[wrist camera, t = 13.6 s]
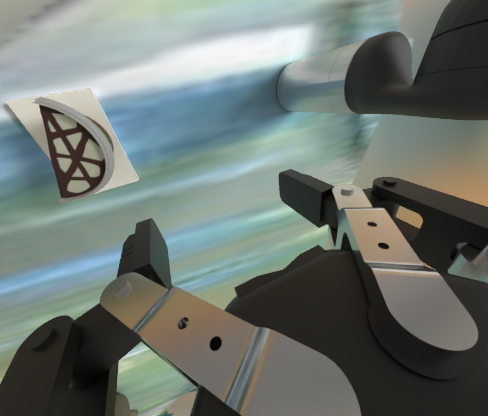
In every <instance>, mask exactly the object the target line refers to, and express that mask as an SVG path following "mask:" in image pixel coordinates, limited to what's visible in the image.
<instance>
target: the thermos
mask: <svg viewBox="0 0 488 416" xmlns="http://www.w3.org/2000/svg"><path fill="white" fill-rule="evenodd" d="M137 415H138V411H137V410H130V416H137Z"/></svg>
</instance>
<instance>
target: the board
mask: <svg viewBox="0 0 488 416" xmlns="http://www.w3.org/2000/svg"><path fill="white" fill-rule="evenodd" d="M39 97H43V98H47V99H51V100H54V101H57V102H60V103H62V104H65V105H67V106H69V107H71V108H73V109H75V110H76V111H78V112H80V113H81V114H83V115H85V116H87V117H89V118H91V119H93V120H94V121H96V122H97V123H98V124H100V125H101V126H102V127H103V128H104V129H105V130H106V132H107V133H108V134H109V136H110V138H111V140H112V143H113V147H114V153H113V154H114V171H113V174H112V177H111V179H110V180H109V182H108V183H107V184H106V185H105V186H104V187H103V188H102V189H101V190H99V191H98V192H96V193H99V192H102V191H106V190H109V189H113V188H116V187H119V186H123V185H126V184H129V183H133V182H136V181H139V177H138V175H137V173H136V172H135V170H134V168H133V166H132V164H131V162H130V160H129V158H128V156H127V154H126V152H125V150H124V149H123V147H122V145H121V143H120V141H119V139H118V137H117V135H116V133H115V131H114V129H113V127H112V126H111V124H110V122H109V120H108V118H107V116H106V114H105V112H104V110H103V108H102V106H101V105H100V103H99V101H98V99H97V97H96V95H95V93H94V91H93V89H91V88H88V89H82V90H75V91H69V92H63V93H57V94H50V95H44V96H38V97H32V98H25V99H19V100H13V101H6V103H7V104H8V105H9V107H10V108H11V109H12V111H13V112H14V113H15V115H16V116H17V117H18V118H19V120H20V121H21V122H22V124H23V125H24V126H25V128H26V129H27V130H28V132H29V133H30V134H31V135H32V137H33V138H34V139H35V141H36V142H37V143H38V145H39V146H40V147H41V149H42V150H43V151H44V152H45V154H46V155H47V156H48V158H49V159H50V160H51V158H50V153H49V148H48V141H47V136H46V132H45V127H44V123H43V119H42V115H41V113H40V108H39V104H35V103H32V102H35V99H37V98H39ZM51 162H52V161H51ZM96 193H94V194H96Z"/></svg>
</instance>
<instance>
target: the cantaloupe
mask: <svg viewBox="0 0 488 416" xmlns="http://www.w3.org/2000/svg"><path fill="white" fill-rule="evenodd" d="M115 416H130V408H129V402H128V399H127V398H126V397H125V396H124V395H122V394H120V393H116V403H115Z"/></svg>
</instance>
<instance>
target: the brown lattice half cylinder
mask: <svg viewBox="0 0 488 416" xmlns="http://www.w3.org/2000/svg"><path fill="white" fill-rule="evenodd" d="M32 103H35V104H39V108H40V113H41V115H42V119H43V123H44V127H45V132H46V136H47V141H48V148H49V153H50V158H51V161H52V164H53V167H54V171H55V174H56V178H57V182H58V186H59V190H60V194H61V198H60V199H59V200H58V202H70V201H76V200H80V199H83V198H86V197H88V196H90V195H92V194H94V193H96V192H98V191H99V190H101V189H102V188H103V187H104V186H105V185H106V184H107V183H108V182H109V180H110V179H111V177H112V174H113V171H114V154H113V153H114V147H113V143H112V140H111V138H110V136H109V134H108V133H107V132H106V130H105V129H104V128H103V127H102V126H101V125H100V124H98V123H97V122H96V121H94V120H93V119H91V118H89V117H87V116H85V115H83V114H81V113H80V112H78V111H76V110H75V109H73V108H71V107H69V106H67V105H65V104H62V103H60V102H57V101H54V100H51V99H47V98H43V97H39V98H37V99H35V102H32Z"/></svg>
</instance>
